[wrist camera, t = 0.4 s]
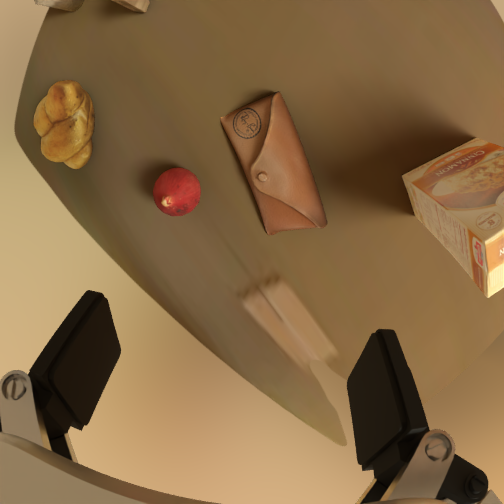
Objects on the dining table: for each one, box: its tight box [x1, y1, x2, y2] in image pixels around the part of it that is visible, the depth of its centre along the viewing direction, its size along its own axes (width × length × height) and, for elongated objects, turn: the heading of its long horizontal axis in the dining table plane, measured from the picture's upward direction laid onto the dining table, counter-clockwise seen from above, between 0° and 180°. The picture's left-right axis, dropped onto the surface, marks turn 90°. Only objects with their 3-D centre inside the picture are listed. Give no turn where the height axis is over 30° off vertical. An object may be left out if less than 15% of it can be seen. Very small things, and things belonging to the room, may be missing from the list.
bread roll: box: [34, 80, 95, 169], centre depth 30 cm, size 13×10×8 cm
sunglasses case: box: [220, 91, 327, 235], centre depth 34 cm, size 18×7×7 cm
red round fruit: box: [153, 167, 201, 216], centre depth 34 cm, size 6×6×8 cm
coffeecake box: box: [402, 138, 504, 298], centre depth 25 cm, size 15×7×20 cm, turn 121°
